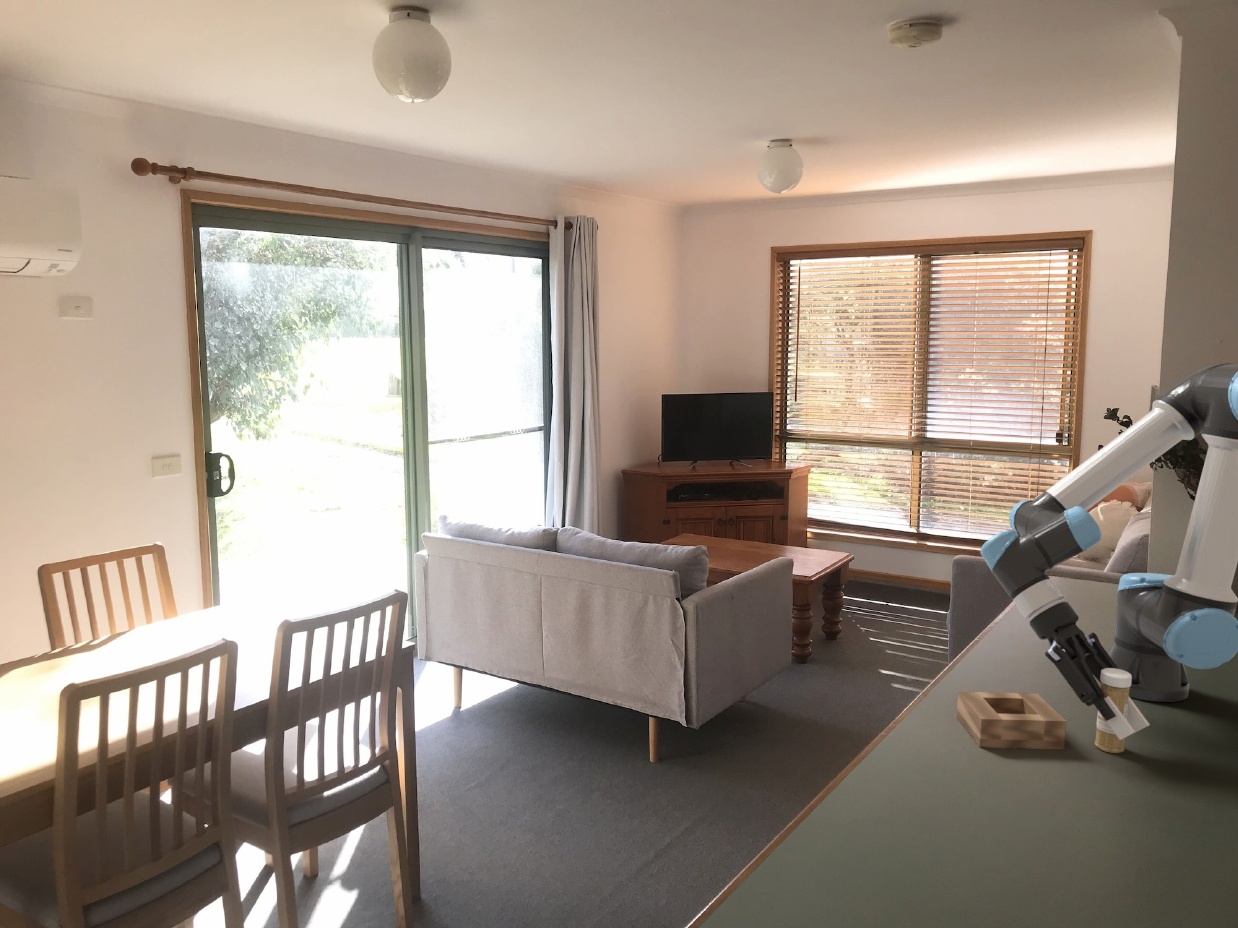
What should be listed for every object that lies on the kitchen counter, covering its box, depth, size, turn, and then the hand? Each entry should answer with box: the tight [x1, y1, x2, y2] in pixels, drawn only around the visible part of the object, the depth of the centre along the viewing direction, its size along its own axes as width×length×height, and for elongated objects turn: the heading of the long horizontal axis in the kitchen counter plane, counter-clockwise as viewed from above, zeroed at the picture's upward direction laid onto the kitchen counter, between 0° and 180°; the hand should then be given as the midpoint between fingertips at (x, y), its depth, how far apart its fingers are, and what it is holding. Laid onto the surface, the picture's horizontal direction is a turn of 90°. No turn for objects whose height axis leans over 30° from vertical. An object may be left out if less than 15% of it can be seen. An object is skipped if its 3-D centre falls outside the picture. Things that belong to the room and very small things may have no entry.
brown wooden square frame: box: [956, 691, 1067, 750], centre depth 160 cm, size 14×12×5 cm
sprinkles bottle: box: [1094, 668, 1132, 754], centre depth 154 cm, size 5×5×13 cm
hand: (1134, 732), depth 151 cm, fingers closed on sprinkles bottle, 4 cm apart
